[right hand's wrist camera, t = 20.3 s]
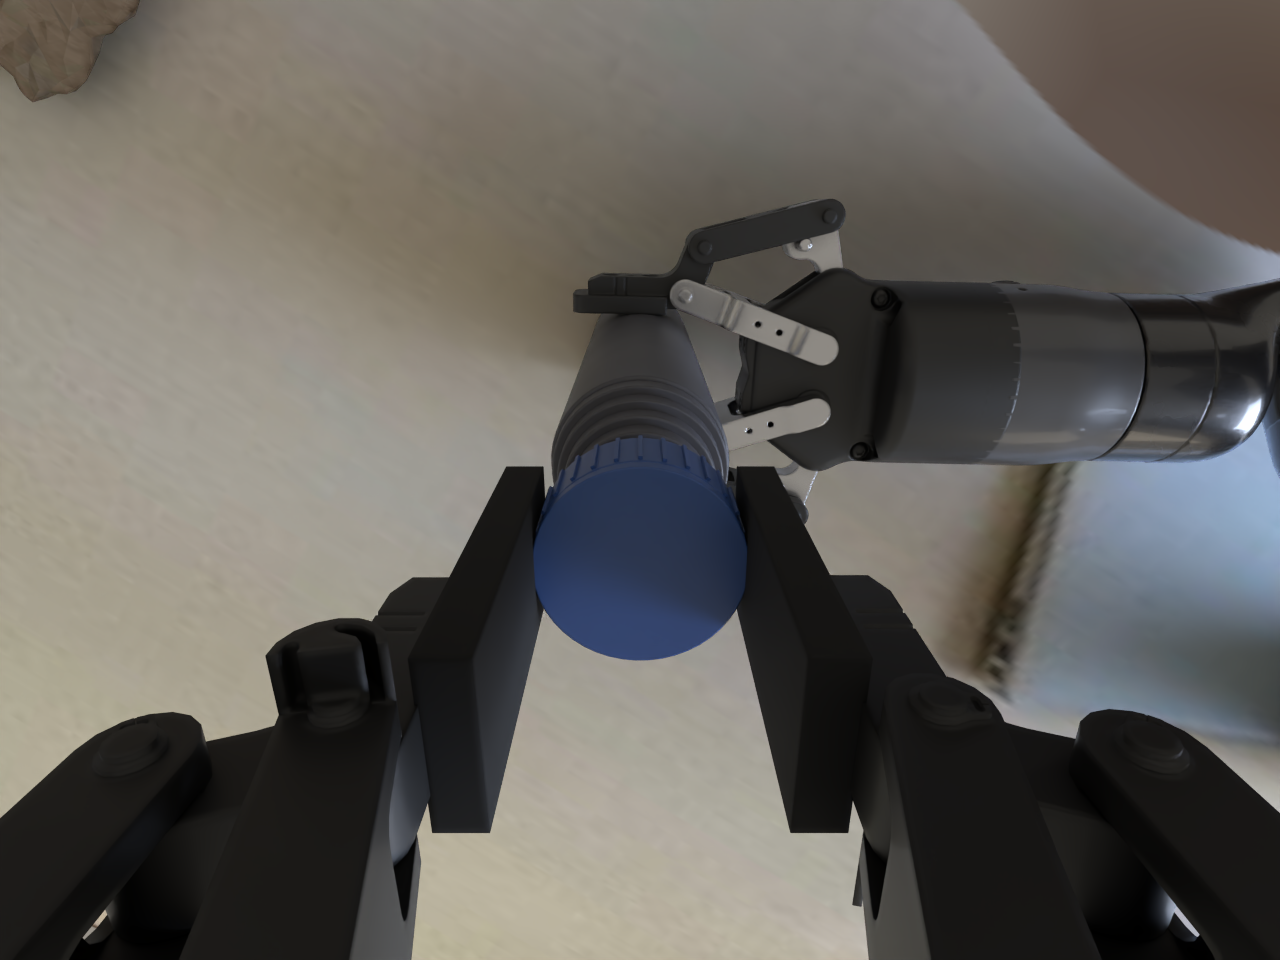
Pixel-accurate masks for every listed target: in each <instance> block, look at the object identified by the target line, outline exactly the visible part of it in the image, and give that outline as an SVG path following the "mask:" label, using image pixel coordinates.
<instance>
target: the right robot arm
mask: <svg viewBox="0 0 1280 960" xmlns="http://www.w3.org/2000/svg"><path fill="white" fill-rule="evenodd" d="M735 499H736V502H737V506H738V509H739V512H740V518H741V521H742V524H743V527H744V530H745V538H746V542H747V565H746V581H745V591H744V594H743V597H742V599H741V601H740V603H739V605H738V607H737V612H738V616H739V620H740V624H741V628H742V633H743V637H744V641H745V645H746V649H747V653H748V658H749V662H750V666H751V670H752V674H753V678H754V683H755V687H756V691H757V695H758V699H759V704H760V708H761V712H762V716H763V720H764V724H765V729H766V733H767V737H768V741H769V745H770V749H771V754H772V758H773V762H774V766H775V770H776V774H777V779H778V783H779V787H780V791H781V795H782V799H783V804H784V808H785V812H786V816H787V820H788V825H789V829H790V833H848V831H849V823H850V816H851V809H852V802H854V805H855V807H856V810H857V813H858V816H859V819H860V821H861V824H862V827H863V830H864V831H863V838H862V844H861V851H860V858H859V864H858V871H857V877H856V884H855V890H854V897H853V904H852V905H855V906H860V907H861V906H862V901H863V906H864V916H865V926H866V936H867V945H868V955H869V960H1280V813H1279V812H1278V811H1277V810H1276V809H1275V808H1274V807H1272V806H1271V805H1270V804H1269V803H1268V802H1267V801H1266V800H1265V799H1264V798H1263V797H1261V796H1260V795H1259V794H1258V793H1257V792H1256V791H1255V790H1254V789H1253V788H1251V787H1250V786H1249V785H1248V784H1247V783H1246V782H1245V781H1244V780H1243V779H1242V778H1240V777H1239V776H1238V775H1237V774H1236V773H1235V772H1234V771H1233V770H1232V769H1230V768H1229V767H1228V766H1227V765H1226V764H1225V763H1224V762H1223V761H1222V760H1221V759H1219V758H1218V757H1217V756H1216V755H1215V754H1214V753H1213V752H1212V751H1211V750H1209V749H1208V748H1207V747H1206V746H1205V745H1203V744H1202V743H1200V742H1199V741H1198V740H1196V739H1195V738H1193V737H1192V736H1191V735H1189V734H1188V733H1186V732H1185V731H1183V730H1181V729H1179V728H1177V727H1175V726H1172V725H1170V724H1168V723H1166V722H1164V721H1163V720H1160V719H1158V718H1155V717H1152V716H1149V715H1148V716H1147V715H1145V714H1141V713H1137V712H1133V711H1124V710H1113V709H1107V710H1101V711H1096V712H1091V713H1090V714H1088V715H1087V716H1086V717H1085V718H1084V719H1083V720H1081V721H1080V725H1079V728H1078V732H1077V735H1076V739H1074V738H1069V737H1064V736H1059V735H1055V734H1050V733H1045V732H1041V731H1036V730H1031V729H1027V728H1023V727H1019V726H1016V725H1012V724H1009V723H1006V722H1004V720H1003V717H1002V715H1001V713H1000V712H999V710H998V709H997V708H996V706H995V705H994V703H993V702H992V701H991V700H990V699H989V698H988V697H986V696H985V695H984V694H982V693H981V692H980V691H978V690H977V689H976V688H974V687H972V686H970V685H968V684H965V683H963V682H961V681H959V680H956V679H954V678H950V677H946V675H945V674H944V672H943V671H942V669H941V668H940V666H939V664H938V663H937V661H936V660H935V658H934V657H933V655H932V654H931V652H930V651H929V649H928V648H927V646H926V644H925V643H924V641H923V640H922V638H921V637H920V635H919V634H918V632H917V631H916V629H913V625H912V623H911V621H910V620H909V618H908V617H907V615H906V614H905V613H903V609H902V608H901V606H900V605H899V603H898V602H897V600H896V598H895V597H894V595H893V594H892V592H891V591H890V590H888V589H887V588H886V587H884V586H883V585H881V584H880V583H878V582H877V581H875V580H874V579H873V578H871V577H870V576H868V575H830V574H829V572H828V570H827V568H826V566H825V564H824V562H823V560H822V559H821V557H820V555H819V553H818V551H817V549H816V547H815V545H814V543H813V541H812V539H811V537H810V535H809V533H808V531H807V529H806V527H805V526H804V524H803V522H802V520H801V518H800V516H799V514H798V512H797V510H796V508H795V506H794V504H793V502H792V500H791V498H790V496H789V494H788V493H787V491H786V489H785V487H784V485H783V483H782V481H781V479H780V477H779V475H778V473H777V471H776V469H775V467H737V477H736V496H735ZM544 501H545V487H544V468H543V467H506V468H505V470H504V472H503V474H502V476H501V478H500V480H499V482H498V484H497V486H496V488H495V490H494V491H493V493H492V495H491V497H490V499H489V501H488V503H487V505H486V507H485V509H484V511H483V513H482V515H481V517H480V519H479V521H478V523H477V525H476V526H475V528H474V530H473V532H472V534H471V536H470V538H469V540H468V542H467V544H466V546H465V548H464V550H463V552H462V554H461V556H460V558H459V559H458V561H457V563H456V565H455V567H454V569H453V571H452V573H451V575H450V577H413V578H411V579H410V580H408V581H407V582H406V583H404V584H403V585H401V586H400V587H398V588H397V589H396V590H394V591H393V592H391V593H390V594H389V596H388V597H387V599H386V600H385V602H384V604H383V605H382V607H381V608H380V610H379V611H378V615H376V616H375V617H374V619H373V621H368V620H364V619H360V618H338V619H333V620H328V621H322V622H317V623H314V624H311V625H309V626H306V627H304V628H301V629H298V630H296V631H294V632H292V633H291V634H289V635H287V636H286V637H284V638H283V639H281V640H280V641H278V642H277V643H276V644H275V645H274V646H273V647H272V648H271V650H270V651H269V652H268V653H267V655H266V661H267V665H268V669H269V674H270V678H271V683H272V687H273V691H274V696H275V700H276V704H277V709H278V713H279V716H278V719H277V721H276V724H275V726H272V727H268V728H265V729H261V730H258V731H254V732H249V733H244V734H240V735H235V736H230V737H226V738H221V739H216V740H212V741H207V742H206V741H205V737H204V733H203V730H202V726H201V724H200V723H199V722H198V721H197V720H195V719H194V718H193V717H192V716H191V715H186V714H180V713H175V712H168V713H158V714H148V715H145V716H140V717H137V718H135V719H134V718H133V719H130V720H127V721H124V722H121V723H119V724H117V725H115V726H113V727H111V728H109V729H107V730H105V731H103V732H101V733H99V734H97V735H95V736H94V737H93V738H91V739H90V740H88V741H87V742H86V743H84V744H83V745H81V746H80V747H79V748H77V749H76V750H75V751H74V752H72V753H71V754H70V755H69V756H68V757H67V758H66V759H65V760H64V761H63V762H61V763H60V764H59V765H58V766H57V767H56V768H55V769H54V770H53V771H52V772H50V773H49V774H48V775H47V776H46V777H45V778H44V779H43V780H42V781H41V782H40V783H38V784H37V785H36V786H35V787H34V788H33V789H32V790H31V791H30V792H29V793H27V794H26V795H25V796H24V797H23V798H22V799H21V800H20V801H19V802H18V803H16V804H15V805H14V806H13V807H12V808H11V809H10V810H9V811H8V812H7V813H6V814H4V815H3V816H2V817H1V818H0V960H411V957H412V947H413V937H414V927H415V917H416V907H417V897H418V887H419V877H420V867H421V858H420V851H419V844H418V838H417V832H418V829H419V826H420V823H421V821H422V818H423V815H424V812H425V809H426V807H427V804H428V806H429V813H430V820H431V827H432V833H490V831H491V826H492V822H493V818H494V814H495V810H496V806H497V801H498V797H499V793H500V789H501V785H502V780H503V776H504V772H505V768H506V764H507V760H508V755H509V751H510V747H511V743H512V739H513V735H514V730H515V726H516V722H517V718H518V714H519V710H520V705H521V701H522V697H523V693H524V689H525V684H526V680H527V676H528V672H529V668H530V664H531V659H532V655H533V651H534V647H535V643H536V639H537V634H538V630H539V626H540V622H541V618H542V613H543V609H544V608H543V606H542V604H541V602H540V600H539V598H538V595H537V593H536V588H535V573H534V557H533V544H534V540H535V536H536V528H537V525H538V522H539V519H540V516H541V511H542V507H543V504H544ZM1176 906H1177V907H1178V908H1179V909H1180V911H1181V912H1182V913H1183V914H1184V916H1185V917H1186V918H1187V919H1188V921H1189V922H1190V923H1191V924H1192V925H1193V927H1194V928H1195V929H1196V930H1197V932H1198V933H1199V934H1200V935H1199V936H1198V937H1196V936H1195V935H1194V934H1193V933H1192V932H1191V931H1190V930H1189V929H1188V928H1187V927H1186V926H1185V925H1184V924H1183V923H1182V921H1181V920H1180V919H1179V918H1178V916H1177V915H1176V914H1175V913H1174V911H1175V909H1176ZM104 910H106V912H107V916H106V917H105V918H104V920H103V921H102V922H101V923H100V925H99V926H98V927H97V928H96V929H95V930H94V931H93V932H92V933H91V934H90V935H89V936H88V937H87V938H86V939H85V940H84V939H83V936H84V935H85V934H86V933H87V931H88V930H89V929H90V928H91V926H92V925H93V924H94V923H95V921H96V920H97V919H98V918H99V916H100V915H101V914H102V913H103V911H104Z"/></svg>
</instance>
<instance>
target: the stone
mask: <svg viewBox="0 0 1280 960" xmlns="http://www.w3.org/2000/svg"><path fill="white" fill-rule="evenodd" d="M139 1H140V0H0V65H1V66H3V67H4V68H5V69H6V70H7V71H8V72H9V73H10V74H11V75H12V76H13V77H14V79H15V81H16V83H17V85H18V87H19V89H20V90H21V92H22V93H23V94H24V95H25V96H26V97H27V98H28V99H30V100H31V101H32V102H35V101H38V100H42V99H45V98H48V97H51V96H53V95H56V94H68V93H72V92H75V91H76V90H77V89H78V88H79V87H80V86H81V85H82V84H83V83H84V82H85V81H86V80H87V78H88V76H89V74H90V72H91V70H92V68H93V66H94V64H95V61H96V59H97V57H98V55H99V52H100V49H101V45H102V41H103V38H104V37H105V35H107V34H111V33H113V32H114V30H115V29H116V28H117V27H118V26H119V25H120V24H122V23H123V22H125V21H127V20H128V19H130V18H131V17H133V16H135V14H136V11H137V8H138V4H139Z"/></svg>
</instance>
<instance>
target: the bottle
mask: <svg viewBox="0 0 1280 960" xmlns="http://www.w3.org/2000/svg"><path fill="white" fill-rule="evenodd" d="M639 435H642V436H643V438H651V439H659V440H661V438H665V441H668V442H672V443H674V444H677V445H680V446H682V445H683V444H684V445H686V446H687V449H688V450H690V451H692V452H694V453H696V454H697V455H699V456H700V457H701V456H702V455H703V456H705V457H706V461H707V462H708V463H709V464H710V465H711V466H712V467H713V468H714V469H715V470H716V471H717V470H718V469H719V470H720V472H721V474H722V477H723V480H724V482H725V484H727V480H728V469H729V449H728V443H727V438H726V435H725V432H724V430H723V427H722V424H721V421H720V419H719V416H718V413H717V411H716V408H715V405H714V403H713V400H712V397H711V395H710V392H709V389H708V387H707V384H706V381H705V379H704V376H703V373H702V371H701V368H700V365H699V363H698V360H697V357H696V355H695V352H694V349H693V347H692V344H691V341H690V339H689V336H688V333H687V331H686V328H685V325H684V323H683V320H682V318H681V316H680V315H679V313H678V312H677V310H676V309H667V312H666V315H647V314H603V313H602V314H601V316H600V317H599V319H598V322H597V324H596V327H595V329H594V332H593V335H592V337H591V340H590V343H589V345H588V348H587V351H586V353H585V356H584V359H583V361H582V364H581V367H580V369H579V372H578V375H577V377H576V380H575V383H574V385H573V388H572V391H571V393H570V396H569V399H568V401H567V404H566V407H565V409H564V412H563V415H562V417H561V420H560V423H559V425H558V428H557V431H556V434H555V437H554V441H553V446H552V454H551V463H552V475H553V482H554V484H555V483H556V481H557V480H558V476H559V473H560V471H561V470H562V469H563V470H564V471H565V470H566V469H567V468H568V467H569V466H570V465H571V464H572V463H573V462H574V461H575V457H576V456H577V455H579V456H582V455H583V454H585V453H587V452H589V451H590V450H592V449H594V445H597V444H598V445H599V446H601V445H603V444H606V443H609V442H613V441H616V438H619V437H620V440H622V439H629V438H638V436H639Z"/></svg>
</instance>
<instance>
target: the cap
mask: <svg viewBox="0 0 1280 960" xmlns="http://www.w3.org/2000/svg"><path fill="white" fill-rule="evenodd" d="M533 557H534V573H535V588H536V593H537V595H538V598H539V600H540V602H541V604H542V606H543V608H544V609H545V611H546V613H547V614H548V615H549V617H550V618H551V619H552V621H553V622H554V623H555V624H556V625H557V626H558V627H559V628H560V629H561V630H562V631H563V632H564V633H565V634H566V635H568V636H569V637H570V638H571V639H573V640H574V641H576V642H577V643H579V644H581V645H582V646H584V647H586V648H588V649H590V650H593V651H595V652H597V653H600V654H603V655H606V656H610V657H614V658H619V659H626V660H654V659H662V658H666V657H670V656H675V655H678V654H680V653H683V652H686V651H688V650H690V649H692V648H694V647H696V646H698V645H700V644H702V643H703V642H705V641H706V640H708V639H709V638H711V637H712V636H713V635H714V634H715V633H717V632H718V631H719V630H720V629H721V628H722V627H723V626H724V625H725V624H726V622H727V621H728V620H729V619H730V618H731V616H732V615H733V613H734V612H735V610H736V609H737V607H738V605H739V603H740V601H741V599H742V597H743V594H744V591H745V581H746V565H747V542H746V538H745V530H744V527H743V524H742V521H741V518H740V512H739V509H738V506H737V502H736V499H735V496H734V493H733V490H732V488H731V486H730V487H727V485H726V484H725V482H724V480H723V477H722V474H721V472H720V470H719V469H718V470H717V471H716V470H715V469H714V468H713V467H712V466H711V465H710V464H709V463H708V462H707V461H706V457H705V456H703V455H702V456H701V457H700V456H699V455H697V454H696V453H694V452H692V451H690V450H688V449H687V446H686V445H684V444H683V445H682V446H680V445H677V444H674V443H672V442H668V441H665V438H661V440H659V439H651V438H643V436H642V435H639V436H638V438H629V439H622V440H620V437H619V438H616V441H613V442H609V443H606V444H603V445H601V446H599V445H598V444H597V445H594V449H592V450H590V451H589V452H587V453H585V454H583V455H582V456H579V455H577V456H576V457H575V461H574V462H573V463H572V464H571V465H570V466H569V467H568V468H567V469H566V470H565V471H564V470H563V469H562V470H561V471H560V473H559V476H558V480H557V481H556V483H555V484H554V486H553V487H551V486H550V487H549V489H548V492H547V495H546V498H545V501H544V504H543V507H542V511H541V516H540V519H539V522H538V525H537V528H536V536H535V540H534V544H533Z"/></svg>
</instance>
